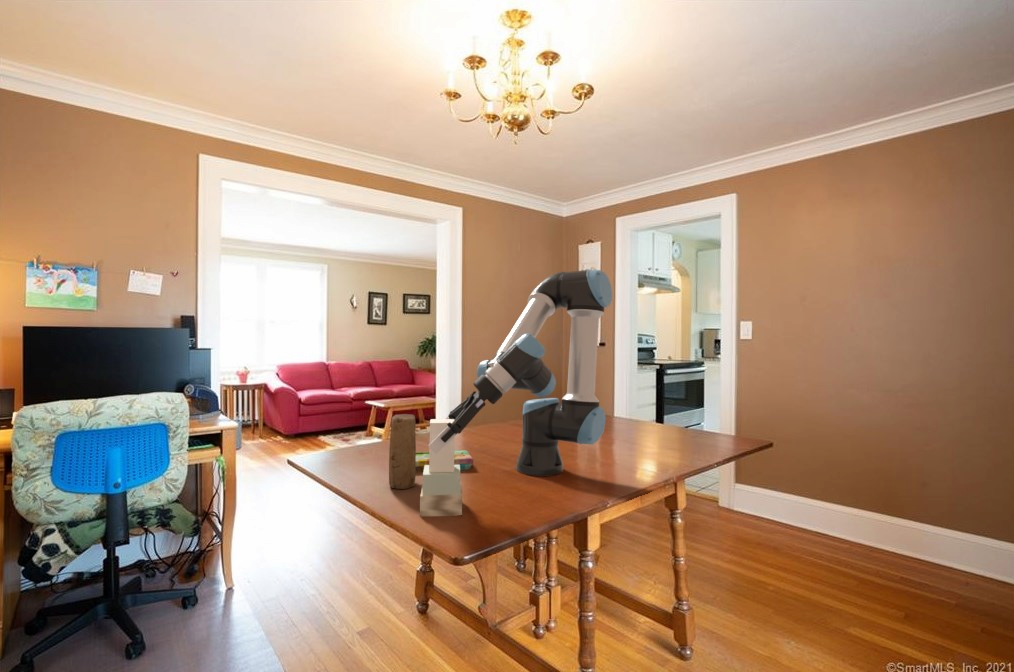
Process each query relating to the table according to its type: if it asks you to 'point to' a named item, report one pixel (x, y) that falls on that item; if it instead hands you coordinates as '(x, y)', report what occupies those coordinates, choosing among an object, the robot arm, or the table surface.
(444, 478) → the tower top
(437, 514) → the tower base
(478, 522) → the table surface
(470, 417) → the robot arm
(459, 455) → the puzzle game
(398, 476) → the block
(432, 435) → the cream block
